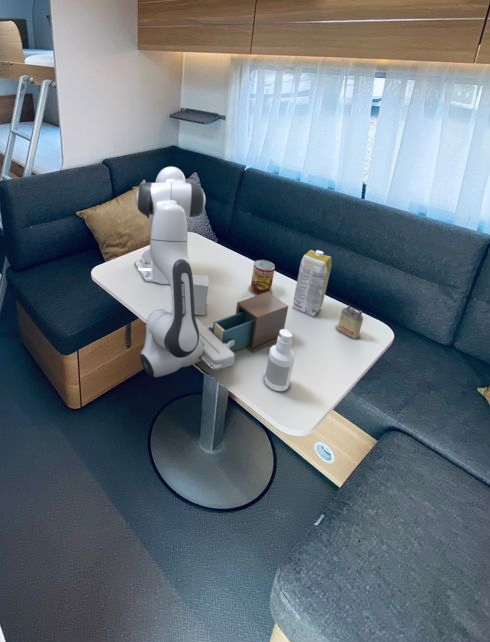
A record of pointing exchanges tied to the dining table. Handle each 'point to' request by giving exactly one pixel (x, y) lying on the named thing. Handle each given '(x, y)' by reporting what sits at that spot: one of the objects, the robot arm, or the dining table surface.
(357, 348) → the dining table surface
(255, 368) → the dining table surface
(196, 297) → the white packaging box
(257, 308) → the drawer cabinet
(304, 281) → the juice carton
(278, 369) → the spray bottle
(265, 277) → the canned food
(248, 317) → the container
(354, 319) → the lighter
